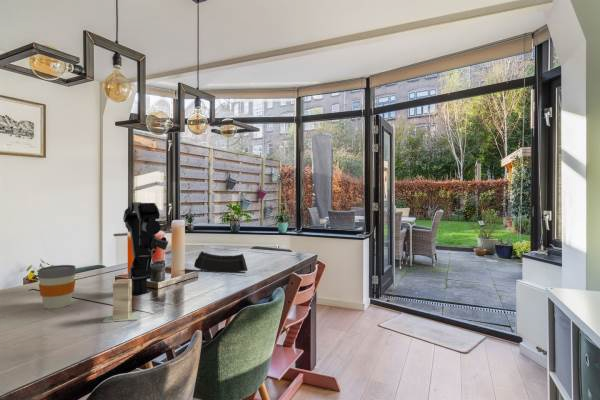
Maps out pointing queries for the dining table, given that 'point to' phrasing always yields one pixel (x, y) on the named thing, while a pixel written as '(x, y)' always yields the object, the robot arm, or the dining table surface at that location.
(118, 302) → the maple block
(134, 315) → the mat
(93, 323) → the dining table surface
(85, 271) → the dining table surface
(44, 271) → the reusable coffee cup
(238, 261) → the magazine
